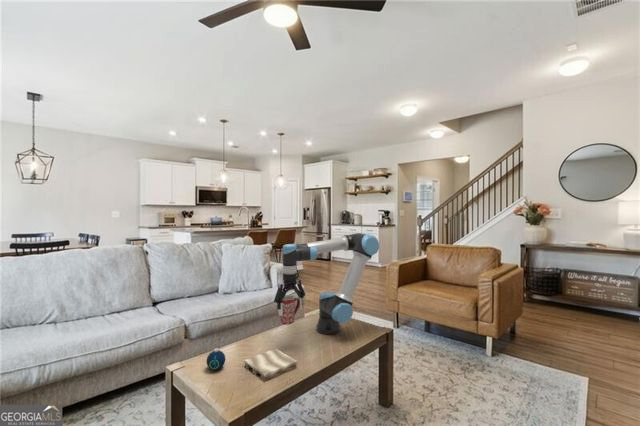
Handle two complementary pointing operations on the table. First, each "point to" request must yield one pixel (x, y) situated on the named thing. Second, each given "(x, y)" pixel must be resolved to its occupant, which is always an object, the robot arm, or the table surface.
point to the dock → (270, 364)
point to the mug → (289, 309)
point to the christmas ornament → (215, 359)
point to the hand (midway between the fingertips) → (290, 312)
